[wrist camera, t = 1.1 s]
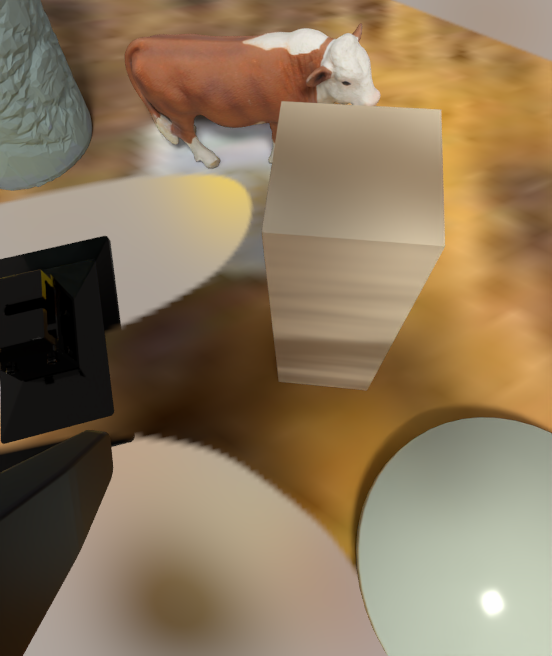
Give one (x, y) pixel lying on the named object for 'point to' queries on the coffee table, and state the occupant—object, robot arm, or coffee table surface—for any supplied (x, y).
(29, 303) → the black recessed tray
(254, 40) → the bull figurine
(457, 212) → the coffee table surface
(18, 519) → the robot arm
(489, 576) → the saucer
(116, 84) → the coffee table surface
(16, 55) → the grey green pot
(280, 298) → the birch block
